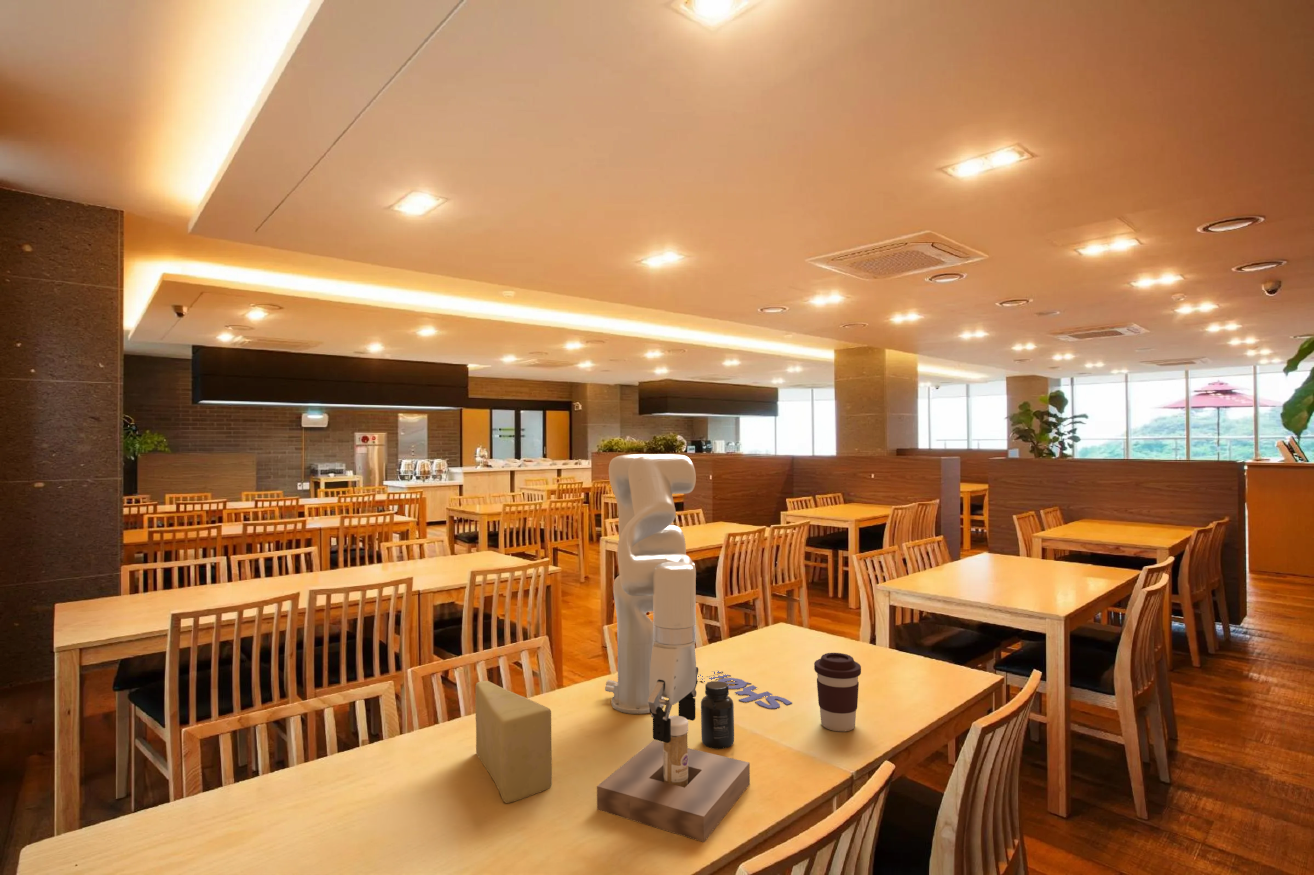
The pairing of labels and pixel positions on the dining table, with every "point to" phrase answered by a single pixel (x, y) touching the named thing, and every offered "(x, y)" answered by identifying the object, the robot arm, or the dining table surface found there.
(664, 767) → the sprinkles bottle
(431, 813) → the dining table surface
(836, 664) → the coffee cup
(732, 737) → the supplement bottle
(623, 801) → the walnut holder
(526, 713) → the cheese
